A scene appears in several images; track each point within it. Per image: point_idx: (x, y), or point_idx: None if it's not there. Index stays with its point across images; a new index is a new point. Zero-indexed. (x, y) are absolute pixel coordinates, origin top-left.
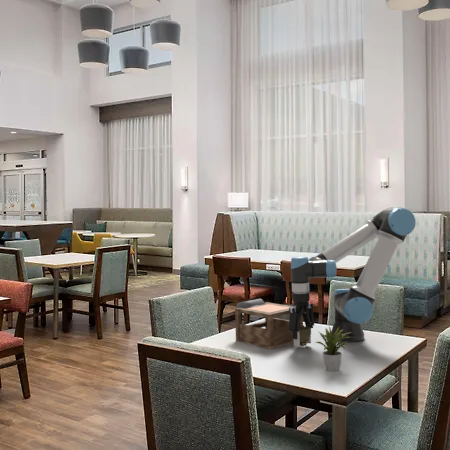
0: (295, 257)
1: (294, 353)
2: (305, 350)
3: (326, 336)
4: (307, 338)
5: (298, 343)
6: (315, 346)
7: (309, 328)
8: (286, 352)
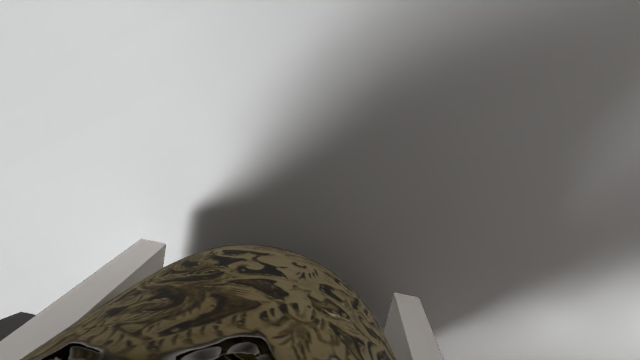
0: None
1: (607, 249)
2: (394, 193)
3: None
4: (291, 256)
5: (429, 329)
6: (137, 171)
7: (171, 347)
8: (602, 355)
